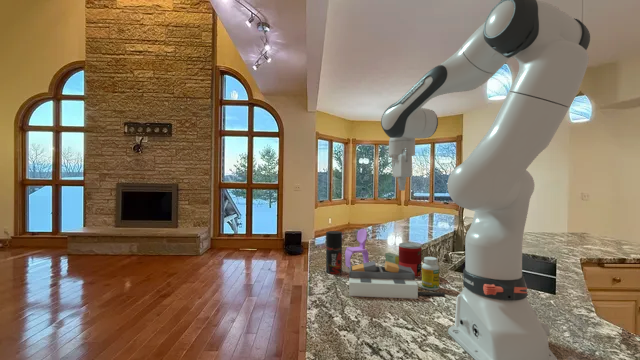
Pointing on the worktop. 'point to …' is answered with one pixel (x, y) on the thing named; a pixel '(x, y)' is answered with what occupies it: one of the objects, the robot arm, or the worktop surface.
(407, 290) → the power strip
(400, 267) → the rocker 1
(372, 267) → the rocker
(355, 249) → the toy chair
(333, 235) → the deodorant
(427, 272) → the supplement bottle
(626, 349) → the worktop surface
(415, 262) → the canned food
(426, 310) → the worktop surface
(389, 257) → the medication box
